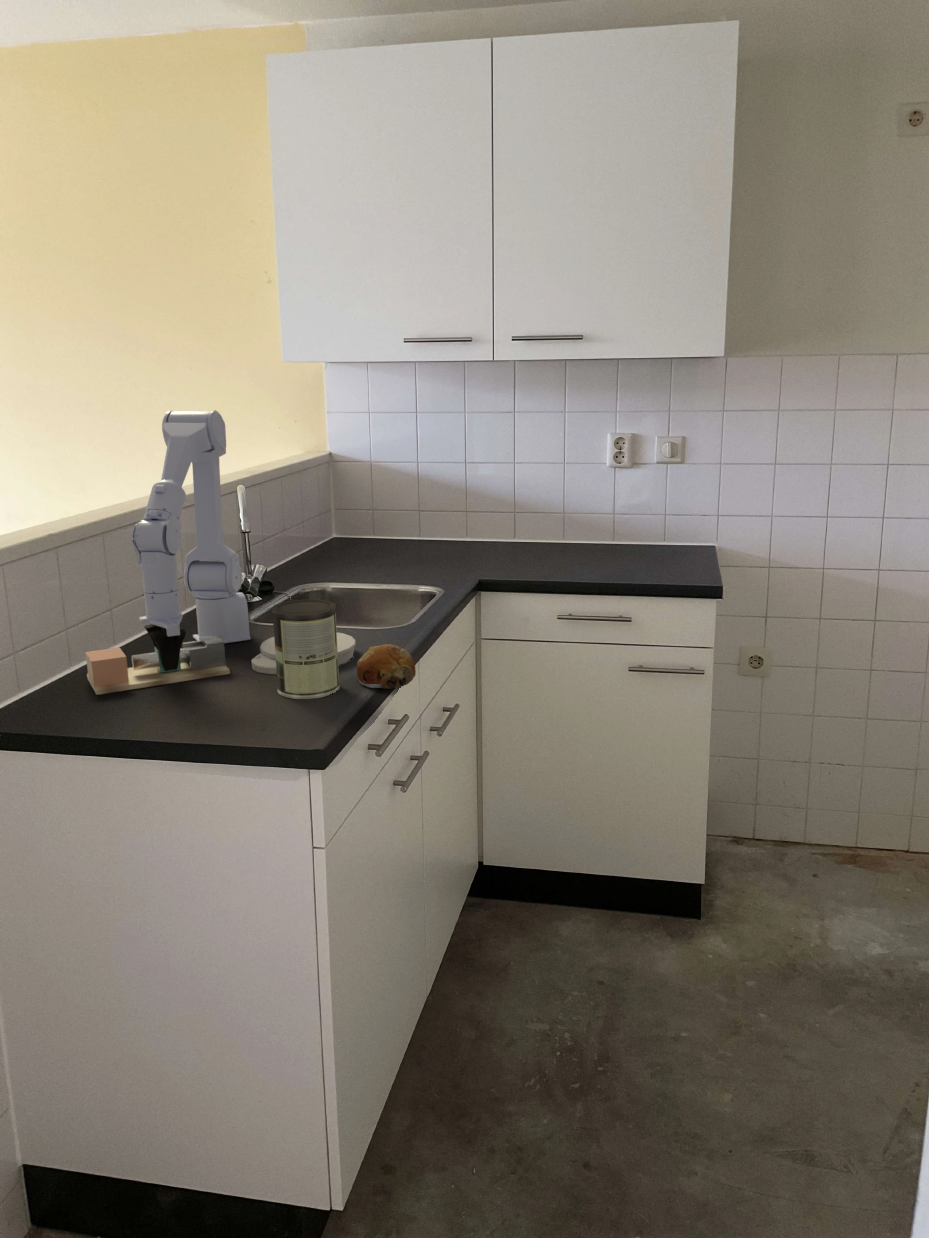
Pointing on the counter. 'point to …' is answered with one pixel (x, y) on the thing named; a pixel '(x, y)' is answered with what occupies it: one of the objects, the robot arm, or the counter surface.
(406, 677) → the bread roll
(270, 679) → the counter surface
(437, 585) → the counter surface
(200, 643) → the gray notched block
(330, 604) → the coffee can
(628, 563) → the counter surface
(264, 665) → the lid
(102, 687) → the board
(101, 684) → the socket
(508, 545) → the counter surface
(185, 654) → the tube
